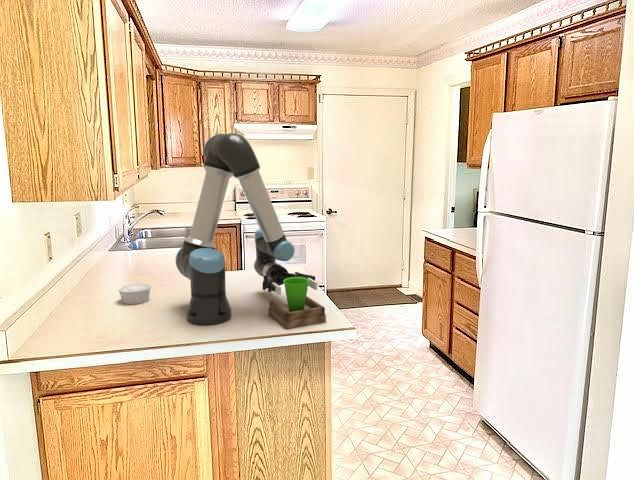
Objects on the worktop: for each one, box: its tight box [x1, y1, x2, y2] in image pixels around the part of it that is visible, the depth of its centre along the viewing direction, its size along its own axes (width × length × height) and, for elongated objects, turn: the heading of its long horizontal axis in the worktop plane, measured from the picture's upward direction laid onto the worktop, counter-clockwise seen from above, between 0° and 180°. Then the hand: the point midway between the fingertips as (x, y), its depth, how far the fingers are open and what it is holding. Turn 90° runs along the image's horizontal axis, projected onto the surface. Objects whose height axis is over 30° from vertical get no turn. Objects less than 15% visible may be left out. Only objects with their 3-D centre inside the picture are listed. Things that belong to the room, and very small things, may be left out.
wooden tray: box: [267, 295, 327, 330], centre depth 161 cm, size 15×15×5 cm
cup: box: [283, 277, 310, 312], centre depth 160 cm, size 9×9×11 cm
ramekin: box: [118, 283, 151, 305], centre depth 179 cm, size 11×11×5 cm
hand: (298, 288), depth 159 cm, fingers open, 13 cm apart
